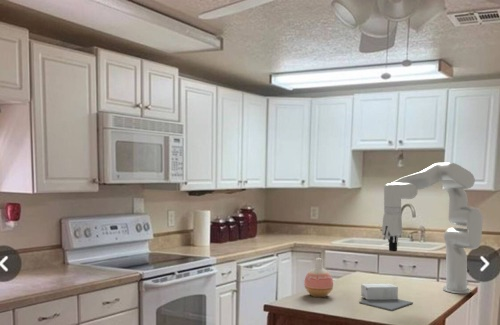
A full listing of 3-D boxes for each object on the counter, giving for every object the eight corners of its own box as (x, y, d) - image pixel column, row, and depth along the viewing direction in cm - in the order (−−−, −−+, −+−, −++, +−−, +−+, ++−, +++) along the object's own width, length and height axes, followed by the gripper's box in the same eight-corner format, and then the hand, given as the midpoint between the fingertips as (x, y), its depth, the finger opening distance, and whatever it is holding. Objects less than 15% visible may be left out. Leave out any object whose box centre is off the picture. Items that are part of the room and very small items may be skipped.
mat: (381, 296, 222) (381, 295, 222) (412, 303, 210) (412, 302, 210) (359, 303, 210) (359, 301, 210) (391, 310, 198) (391, 309, 198)
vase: (315, 291, 231) (315, 255, 232) (338, 296, 222) (339, 258, 222) (298, 295, 221) (298, 258, 222) (322, 301, 212) (322, 262, 212)
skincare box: (391, 295, 222) (360, 296, 221) (391, 282, 223) (360, 283, 221) (398, 299, 214) (366, 300, 213) (398, 286, 214) (366, 287, 213)
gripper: (393, 209, 222) (394, 248, 222) (376, 211, 212) (376, 251, 212) (408, 210, 217) (408, 250, 216) (391, 212, 207) (391, 253, 206)
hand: (393, 250), depth 214 cm, fingers closed
